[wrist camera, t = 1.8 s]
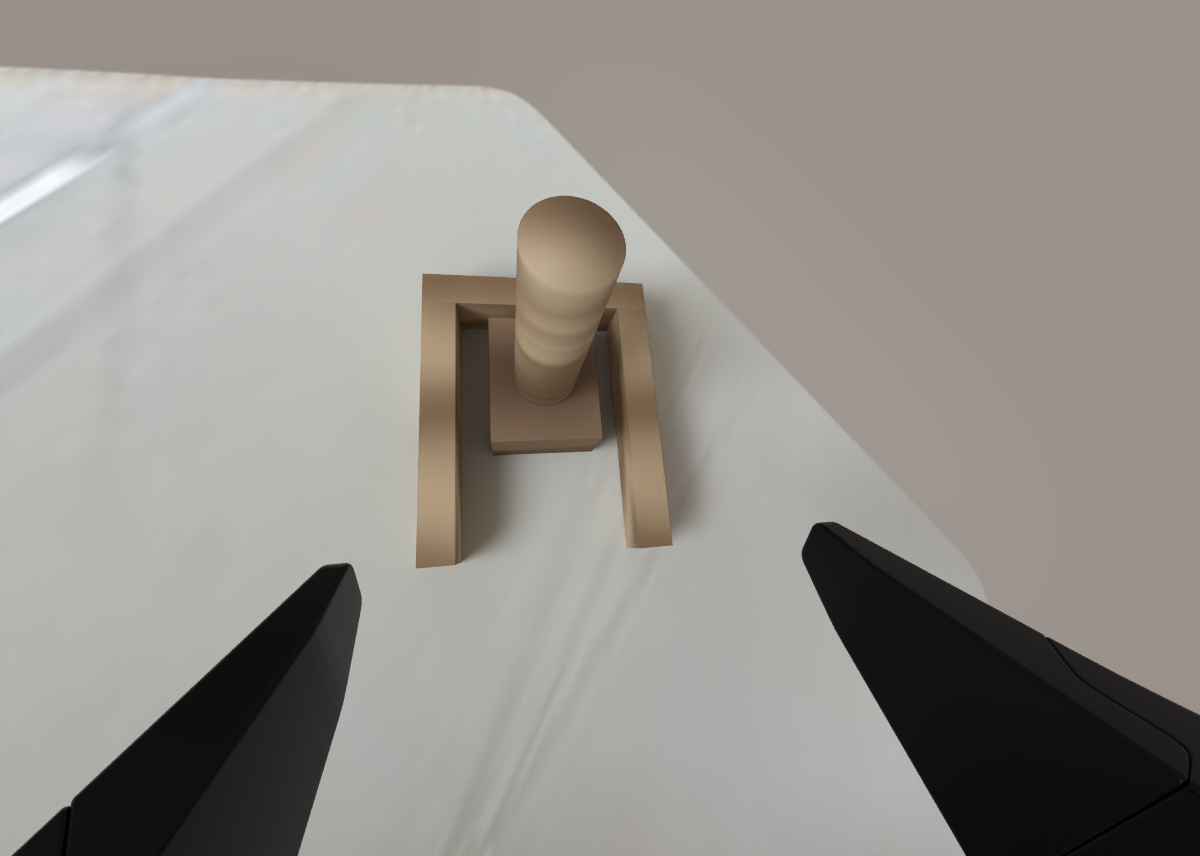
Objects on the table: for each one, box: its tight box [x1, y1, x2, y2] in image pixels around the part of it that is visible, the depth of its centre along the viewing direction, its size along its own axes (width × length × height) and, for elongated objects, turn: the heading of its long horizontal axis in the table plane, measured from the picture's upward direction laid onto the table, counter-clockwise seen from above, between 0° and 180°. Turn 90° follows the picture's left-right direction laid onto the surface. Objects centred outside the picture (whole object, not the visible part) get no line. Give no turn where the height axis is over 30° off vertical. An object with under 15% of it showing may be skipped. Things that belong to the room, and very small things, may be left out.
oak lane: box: [416, 274, 672, 568], centre depth 21 cm, size 14×11×2 cm
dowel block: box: [488, 196, 626, 455], centre depth 17 cm, size 6×5×12 cm
